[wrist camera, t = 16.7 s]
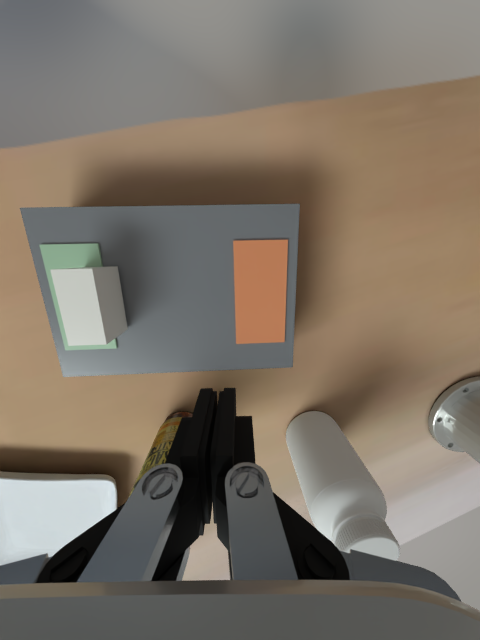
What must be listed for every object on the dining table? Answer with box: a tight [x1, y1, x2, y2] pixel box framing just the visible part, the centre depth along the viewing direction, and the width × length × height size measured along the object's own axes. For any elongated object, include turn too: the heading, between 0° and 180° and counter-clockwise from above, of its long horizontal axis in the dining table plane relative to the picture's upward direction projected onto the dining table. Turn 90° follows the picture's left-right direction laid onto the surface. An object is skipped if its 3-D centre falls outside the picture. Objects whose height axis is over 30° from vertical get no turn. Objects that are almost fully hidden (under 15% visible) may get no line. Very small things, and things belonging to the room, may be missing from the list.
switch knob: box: [50, 266, 128, 346], centre depth 20 cm, size 3×6×4 cm, turn 1°
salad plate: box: [0, 471, 117, 566], centre depth 35 cm, size 21×21×3 cm
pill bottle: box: [286, 411, 400, 561], centre depth 27 cm, size 8×8×15 cm
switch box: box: [20, 204, 300, 377], centre depth 25 cm, size 24×16×6 cm, turn 91°
